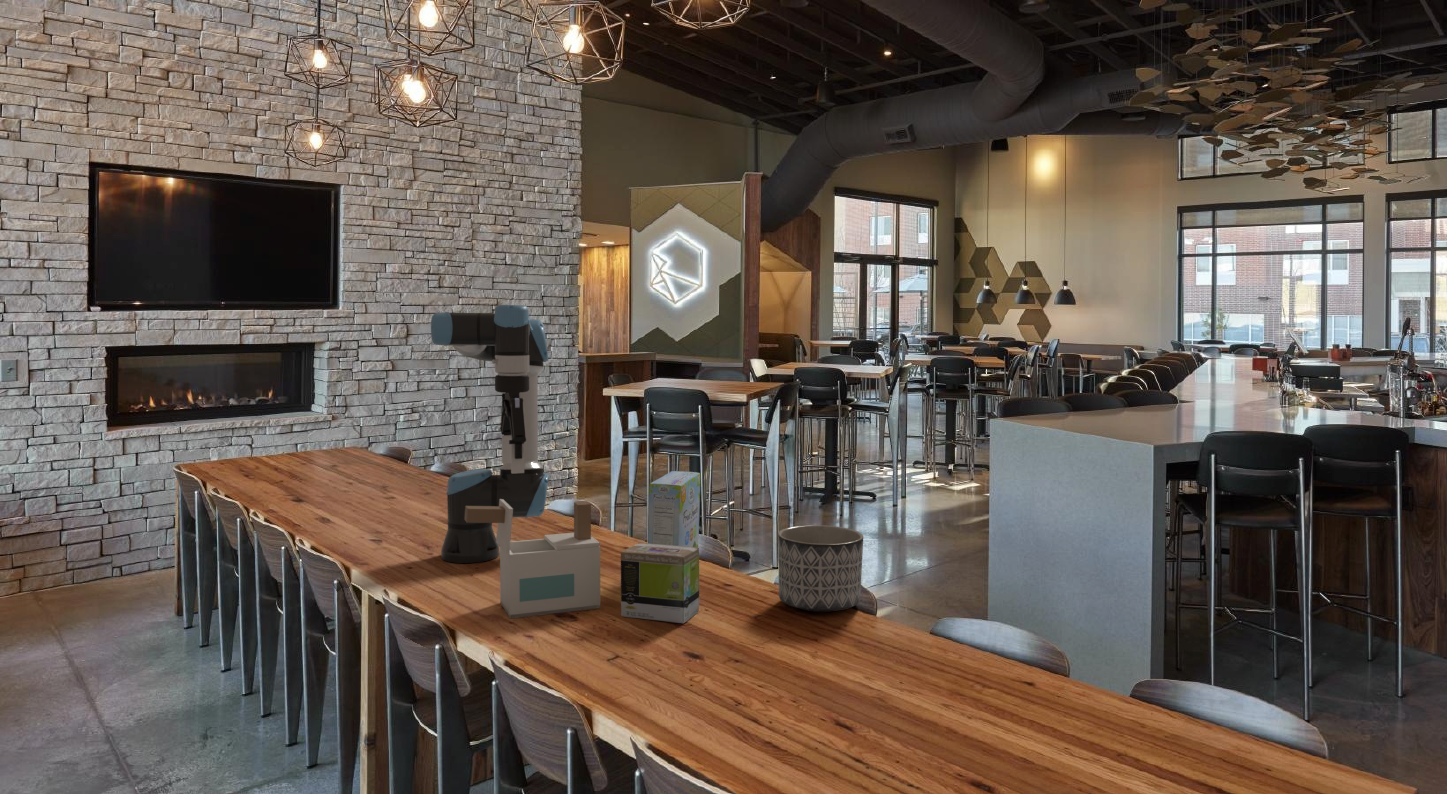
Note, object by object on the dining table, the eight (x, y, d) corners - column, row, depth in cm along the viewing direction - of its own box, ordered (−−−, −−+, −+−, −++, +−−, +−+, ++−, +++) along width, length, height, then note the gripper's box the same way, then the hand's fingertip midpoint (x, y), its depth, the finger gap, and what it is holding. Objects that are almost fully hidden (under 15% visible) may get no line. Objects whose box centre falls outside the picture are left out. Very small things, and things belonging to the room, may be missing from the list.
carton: (500, 602, 213) (499, 503, 211) (586, 593, 221) (586, 497, 219) (510, 618, 202) (509, 513, 200) (600, 608, 210) (600, 507, 208)
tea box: (700, 611, 208) (700, 546, 207) (683, 625, 199) (684, 557, 198) (638, 604, 213) (638, 540, 212) (619, 617, 204) (619, 550, 203)
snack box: (680, 591, 224) (681, 485, 222) (645, 589, 225) (645, 483, 223) (700, 568, 245) (701, 470, 243) (668, 566, 247) (669, 469, 244)
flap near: (499, 542, 212) (459, 542, 208) (503, 499, 211) (463, 498, 208) (509, 554, 201) (467, 554, 197) (513, 508, 201) (471, 508, 197)
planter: (766, 612, 208) (767, 539, 207) (790, 589, 226) (791, 522, 225) (851, 622, 202) (853, 547, 200) (869, 598, 220) (870, 529, 218)
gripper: (487, 370, 220) (488, 460, 222) (503, 378, 197) (504, 478, 199) (519, 370, 222) (520, 458, 224) (539, 378, 199) (539, 476, 201)
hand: (512, 468), depth 212 cm, fingers open, 13 cm apart
